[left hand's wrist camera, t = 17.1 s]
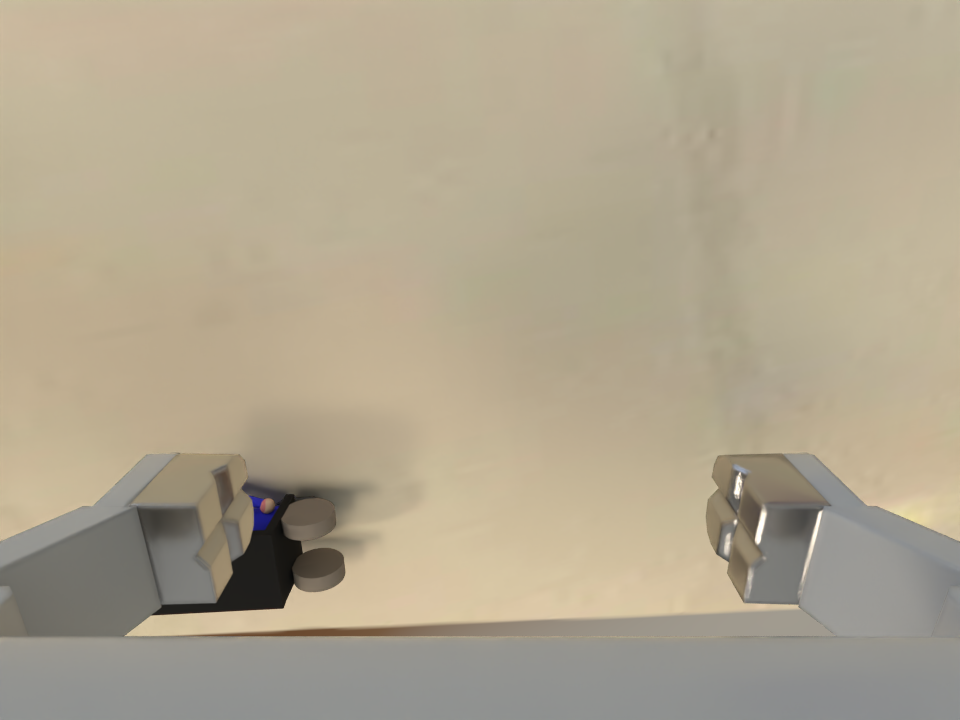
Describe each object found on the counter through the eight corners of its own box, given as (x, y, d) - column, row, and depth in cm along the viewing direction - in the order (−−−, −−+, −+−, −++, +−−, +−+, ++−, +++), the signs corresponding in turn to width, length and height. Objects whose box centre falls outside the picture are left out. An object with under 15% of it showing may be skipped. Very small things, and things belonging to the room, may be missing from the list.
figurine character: (341, 463, 45) (136, 482, 44) (329, 525, 38) (84, 550, 37) (352, 535, 47) (158, 556, 46) (342, 605, 40) (113, 632, 39)
